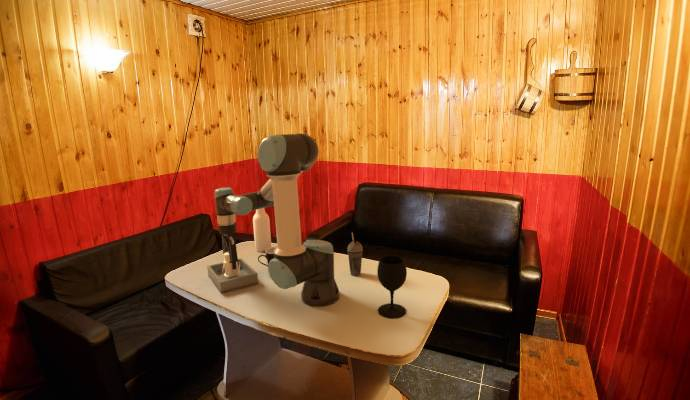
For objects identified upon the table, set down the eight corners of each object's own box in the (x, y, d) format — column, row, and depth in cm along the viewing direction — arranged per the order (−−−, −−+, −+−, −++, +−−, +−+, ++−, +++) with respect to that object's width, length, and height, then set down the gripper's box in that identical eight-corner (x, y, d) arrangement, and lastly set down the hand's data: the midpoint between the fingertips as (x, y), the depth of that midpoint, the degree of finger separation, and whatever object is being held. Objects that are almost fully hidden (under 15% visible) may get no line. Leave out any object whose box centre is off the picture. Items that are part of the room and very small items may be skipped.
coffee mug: (287, 267, 179) (286, 247, 176) (282, 274, 170) (281, 253, 168) (264, 266, 180) (262, 247, 178) (258, 274, 171) (256, 253, 169)
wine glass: (371, 311, 135) (371, 260, 131) (389, 301, 142) (389, 252, 138) (394, 321, 128) (394, 268, 124) (412, 310, 135) (412, 259, 131)
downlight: (238, 269, 170) (235, 248, 168) (243, 274, 164) (240, 253, 162) (221, 274, 166) (218, 253, 164) (225, 279, 160) (222, 257, 158)
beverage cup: (366, 275, 166) (365, 233, 162) (351, 278, 163) (350, 235, 159) (359, 270, 173) (358, 229, 168) (345, 272, 170) (344, 231, 166)
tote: (258, 283, 161) (257, 273, 160) (221, 293, 152) (219, 282, 151) (242, 267, 179) (241, 258, 178) (208, 276, 171) (207, 265, 169)
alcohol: (273, 246, 208) (269, 194, 201) (268, 252, 199) (264, 198, 193) (258, 246, 209) (254, 194, 203) (252, 252, 200) (248, 198, 194)
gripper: (242, 226, 154) (247, 278, 159) (229, 217, 170) (233, 264, 175) (224, 230, 150) (229, 282, 155) (212, 220, 166) (217, 267, 171)
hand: (231, 272), depth 165 cm, fingers closed on downlight, 7 cm apart
